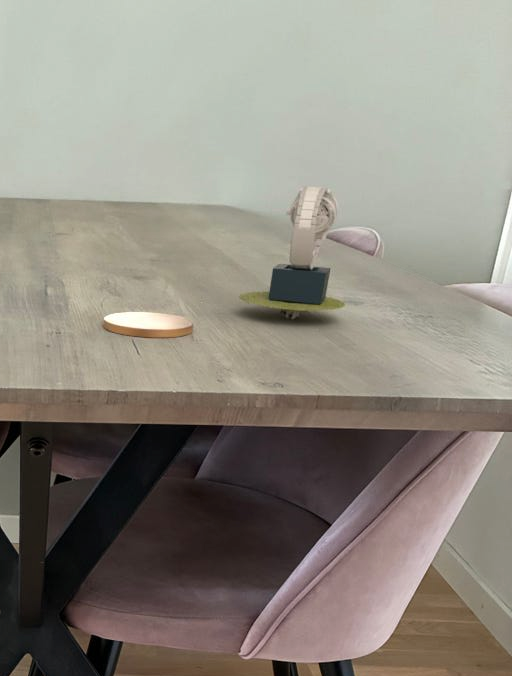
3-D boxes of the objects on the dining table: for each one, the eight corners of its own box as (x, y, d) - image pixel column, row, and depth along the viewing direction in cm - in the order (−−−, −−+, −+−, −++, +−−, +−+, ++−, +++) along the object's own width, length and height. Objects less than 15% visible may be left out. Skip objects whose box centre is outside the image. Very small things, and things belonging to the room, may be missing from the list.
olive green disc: (348, 331, 98) (351, 311, 97) (238, 324, 100) (240, 304, 99) (335, 312, 108) (338, 294, 107) (235, 305, 109) (237, 288, 108)
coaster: (187, 321, 100) (188, 313, 100) (197, 339, 92) (198, 331, 92) (102, 318, 100) (102, 310, 100) (104, 335, 92) (105, 327, 92)
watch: (327, 295, 106) (346, 186, 101) (318, 306, 99) (338, 190, 94) (276, 290, 108) (292, 183, 102) (264, 301, 101) (281, 187, 96)
